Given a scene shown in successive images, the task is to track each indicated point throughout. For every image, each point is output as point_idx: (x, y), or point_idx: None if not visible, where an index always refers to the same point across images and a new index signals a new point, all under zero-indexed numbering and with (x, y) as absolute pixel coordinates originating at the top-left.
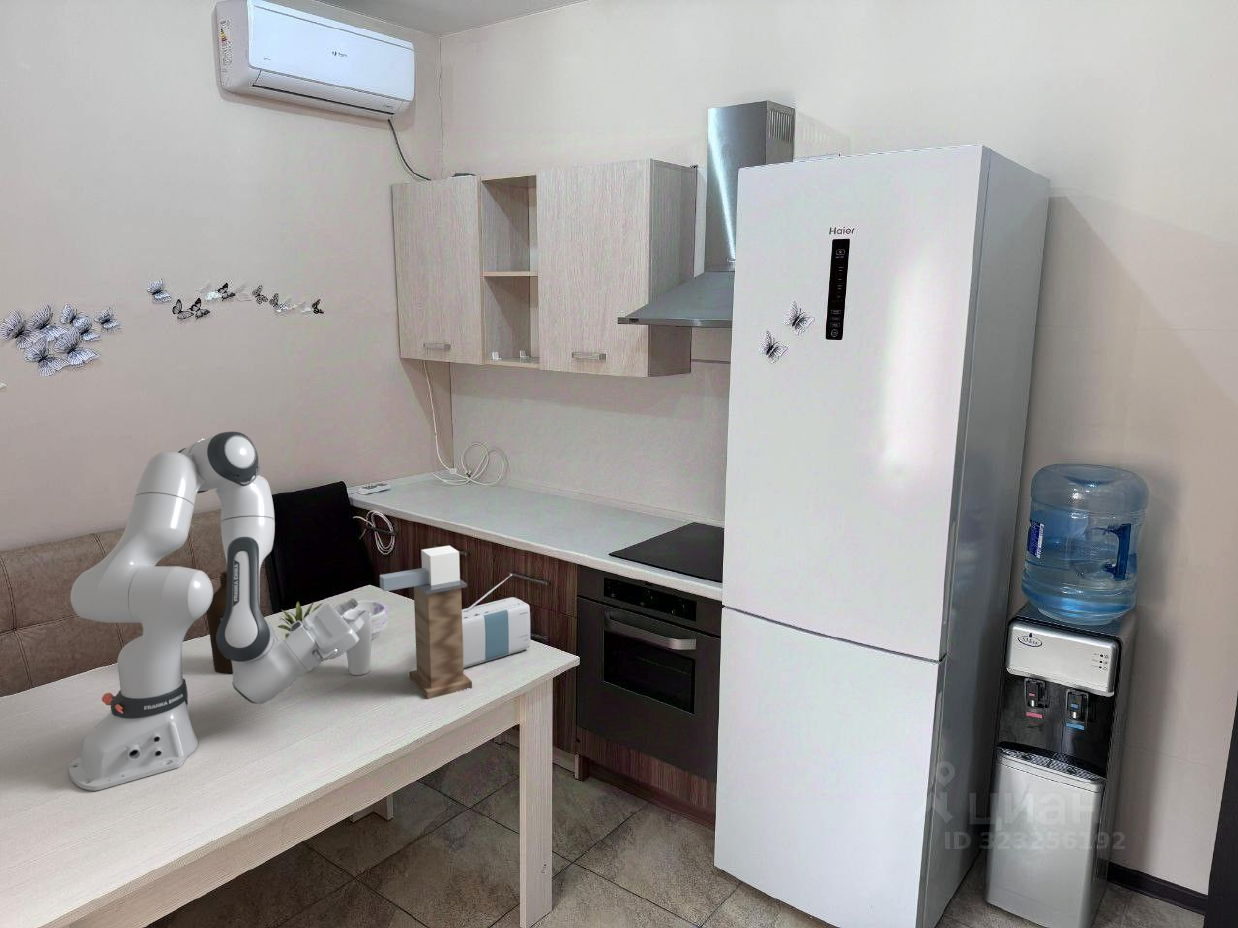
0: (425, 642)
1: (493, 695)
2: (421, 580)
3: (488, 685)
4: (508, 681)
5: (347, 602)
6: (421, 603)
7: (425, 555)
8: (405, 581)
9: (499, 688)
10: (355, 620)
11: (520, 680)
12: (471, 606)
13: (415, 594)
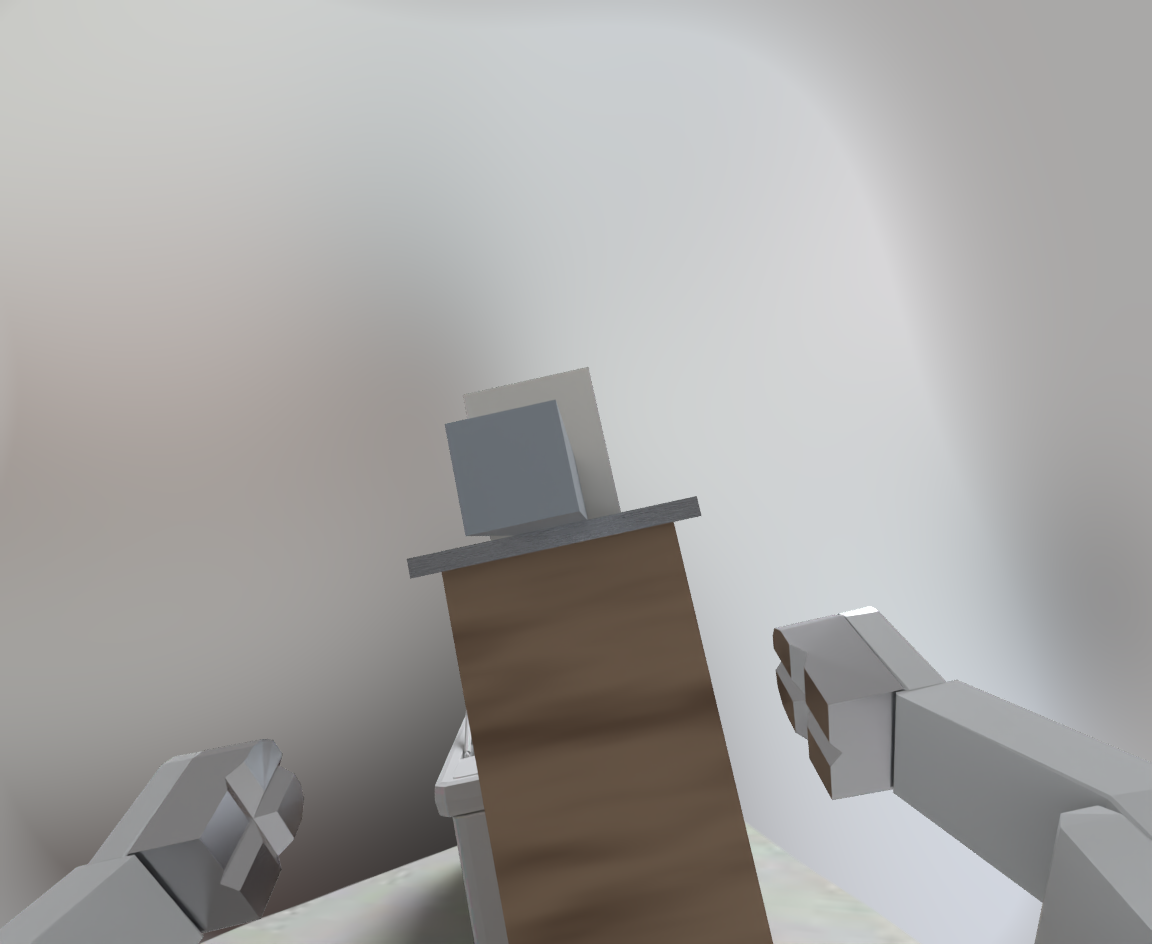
0: (677, 871)
1: (875, 923)
2: (582, 495)
3: (778, 927)
4: (761, 873)
5: (140, 846)
6: (582, 647)
7: (522, 396)
8: (576, 476)
9: (813, 900)
10: (1076, 751)
11: (764, 848)
12: (469, 733)
13: (481, 644)
